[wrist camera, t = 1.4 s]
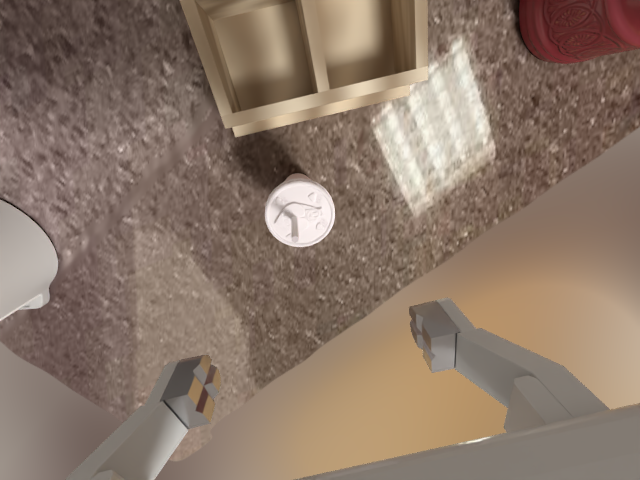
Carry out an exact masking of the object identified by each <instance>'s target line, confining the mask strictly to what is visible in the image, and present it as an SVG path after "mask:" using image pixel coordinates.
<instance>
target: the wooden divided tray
mask: <svg viewBox="0 0 640 480" xmlns="http://www.w3.org/2000/svg"><path fill="white" fill-rule="evenodd" d="M179 1H180V3H181V6H182V9H183V12H184V14H185V17H186V20H187V23H188V26H189V28H190V31H191V34H192V37H193V40H194V42H195V45H196V48H197V51H198V54H199V56H200V59H201V62H202V65H203V67H204V70H205V73H206V76H207V79H208V81H209V84H210V87H211V90H212V93H213V95H214V98H215V101H216V104H217V107H218V109H219V112H220V115H221V118H222V120H223V123H224V126H225V129H226V128H231V127H232V129H233V131H234V134H235V137H239V136H243V135H247V134H252V133H256V132H260V131H264V130H268V129H272V128H276V127H281V126H285V125H289V124H293V123H297V122H301V121H305V120H310V119H314V118H318V117H322V116H326V115H330V114H334V113H339V112H343V111H347V110H351V109H355V108H359V107H363V106H368V105H372V104H376V103H380V102H384V101H388V100H392V99H397V98H401V97H405V96H409V95H410V84H413V83H417V82H421V81H425V80H428V14H427V0H179Z"/></svg>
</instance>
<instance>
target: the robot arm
mask: <svg viewBox="0 0 640 480" xmlns="http://www.w3.org/2000/svg"><path fill="white" fill-rule="evenodd" d="M57 270H58V258H57V254H56V251H55V248H54V246H53V244H52V243H51V241H50V239H49V238H48V236H47V235H46V234H45V233H44V231H43V230H42V229H41V228H40V227H39V226H38V225H37V224H36V223H35V222H34V221H33V220H32V219H30V218H29V217H28V216H27V215H25V214H24V213H23V212H21V211H20V210H18V209H17V208H15V207H13V206H12V205H10V204H8V203H6V202H4V201H2V200H0V321H1V320H2V319H4V318H6V317H7V316H9V315H10V314H12V313H13V312H15V311H17V310H21V309H35V308H40V307H42V306H43V305H45V304H47V303H48V302H49V299H50V294H49V286H50V284H51V282H52V281H53V279H54V278H55V276H56V273H57ZM409 314H410V316H411V318H412V320H411V322H410V327H411V332H412V335H413V338H414V340H415V342H416V344H417V346H418V347H419V348H421V349H422V350H423V357H424V359H425V361H426V363H427V365H428V367H429V369H430V370H431V372H432V373H434V372H439V371H444V370H449V369H454V368H455V370H457V371H458V372H459V373H461V374H462V375H464V376H465V377H466V378H468V379H469V380H470V381H472V382H473V383H475V384H476V385H477V386H478V387H480V388H481V389H483V390H484V391H485V392H487V393H488V394H489V395H491V396H492V397H493V398H495V399H496V400H498V401H499V402H500V403H502V404H503V405H504V406H506V407H507V408H508V410H507V415H506V419H505V423H504V429H505V430H506V432H507V433H503V434H498V435H494V436H489V437H485V438H480V439H476V440H471V441H466V442H462V443H457V444H453V445H449V446H444V447H439V448H435V449H430V450H426V451H421V452H417V453H412V454H408V455H403V456H399V457H394V458H390V459H386V460H381V461H376V462H372V463H367V464H363V465H358V466H353V467H349V468H345V469H340V470H335V471H331V472H326V473H322V474H317V475H313V476H308V477H304V478H300V479H295V480H640V403H638V404H633V405H629V406H624V407H620V408H616V409H611V410H610V409H609V408H608V407H607V406H606V405H605V404H604V403H602V401H600V400H599V399H598V398H597V397H596V396H595V395H594V394H593V393H592V392H591V391H590V390H589V389H587V387H585V386H584V385H583V384H582V383H581V382H580V381H579V380H578V379H577V378H576V377H575V376H573V374H572V373H570V372H569V371H568V370H567V369H566V368H565V367H564V366H562V365H560V364H558V363H556V362H553V361H551V360H549V359H547V358H544V357H543V356H540V355H538V354H536V353H534V352H531V351H530V350H527V349H525V348H523V347H521V346H519V345H516V344H514V343H512V342H510V341H508V340H505V339H503V338H501V337H499V336H497V335H495V334H492V333H490V332H488V331H486V330H484V329H482V328H479V329H476V328H475V327H474V325H473V324H472V323H471V322H470V321H469V320H468V318H467V317H466V316H465V315H464V314H463V313H462V311H461V310H460V309H459V308H458V307H457V306H456V304H455V303H454V302H453V301H452V300H451V299H450V298H444V299H440V300H436V301H432V302H427V303H423V304H419V305H415V306H411V307H410V308H409ZM211 362H212V359H211V358H210V356H209V355H201V356H197V357H192V358H187V359H182V360H178V361H173V362H169V363H168V364H167V365H166V366H165V367H164V369H163V371H162V373H161V375H160V377H159V379H158V380H157V382H156V384H155V386H154V388H153V390H152V392H151V394H150V396H149V398H148V400H147V401H146V403H145V405H144V406H140V407H139V408H138V409H137V410H136V411H135V412H134V413H133V414H132V415H131V416H130V417H129V418H128V419H127V420H126V421H125V422H124V423H123V424H122V425H121V426H120V427H119V428H118V429H117V430H116V431H115V432H113V433H112V434H111V435H110V436H109V438H107V439H106V440H105V441H104V442H103V443H102V444H101V445H100V446H99V447H98V448H97V449H96V450H95V451H94V452H93V453H92V454H91V455H90V456H89V457H88V458H87V459H86V460H85V461H84V462H83V463H82V464H80V465H79V467H77V468H76V469H75V470H74V471H73V472H72V473H71V474H70V475H69V476H68V477H67V478H66V480H154V479H155V477H156V476H157V475H158V473H159V472H160V470H161V469H162V468H163V466H164V465H165V463H166V462H167V460H168V459H169V458H170V456H171V455H172V453H173V452H174V450H175V449H176V447H177V446H178V445H179V443H180V442H181V440H182V439H183V437H184V436H185V435H186V433H187V432H188V429H190V428H194V427H198V426H202V425H206V424H209V423H211V419H212V416H213V412H214V409H215V405H216V404H215V402H214V398H215V397H216V395H217V394H218V393H219V390H220V386H221V375H220V372H219V370H218V368H217V367H215V366H213V365H211Z"/></svg>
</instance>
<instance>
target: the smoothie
mask: <svg viewBox="0 0 640 480" xmlns="http://www.w3.org/2000/svg"><path fill="white" fill-rule="evenodd" d="M334 219H335V209H334V204H333V201H332V198H331V196H330V194H329V193H328V192H327V190H326V189H325V188H324V187H322V186H321V185H320V184H319V183H316V182H314V181H312V180H311V179H310V178H309V177H307V176H306V175H304V174H301V173H294V174H292V175H290V176H288V177H287V178H286V180H285V181H284V182H283V183H281V184H280V185H279V186H277V187H276V188H275V189H274V190H273V191H272V193H271V194H270V195H269V197H268V200H267V203H266V209H265V220H266V224H267V226H268V228H269V230H270V232H271V233H272V234H273V236H274V237H275V238H277V239H278V240H279V241H281V242H283V243H285V244H287V245H290V246H295V247H305V246H310V245H313V244H315V243H317V242H319V241H321V240H322V239H323V238H324V237H325V236H326V235H327V234H328V233H329V232H330V230H331V228H332V226H333V223H334Z"/></svg>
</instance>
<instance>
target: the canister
mask: <svg viewBox="0 0 640 480" xmlns="http://www.w3.org/2000/svg"><path fill="white" fill-rule="evenodd" d="M519 23H520V30H521V34H522V37H523V40H524V42H525V44H526V46H527V48H528V49H529V50H530V52H531V53H532V54H533V55H534V56H536V57H537V58H539V59H541V60H543V61H546V62H551V63H561V64H570V63H576V62H583V61H587V60H590V59H593V58H596V57H598V56H603V55H609V54H614V53H619V52H625V51H630V50H635V49H640V0H520V4H519Z"/></svg>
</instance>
